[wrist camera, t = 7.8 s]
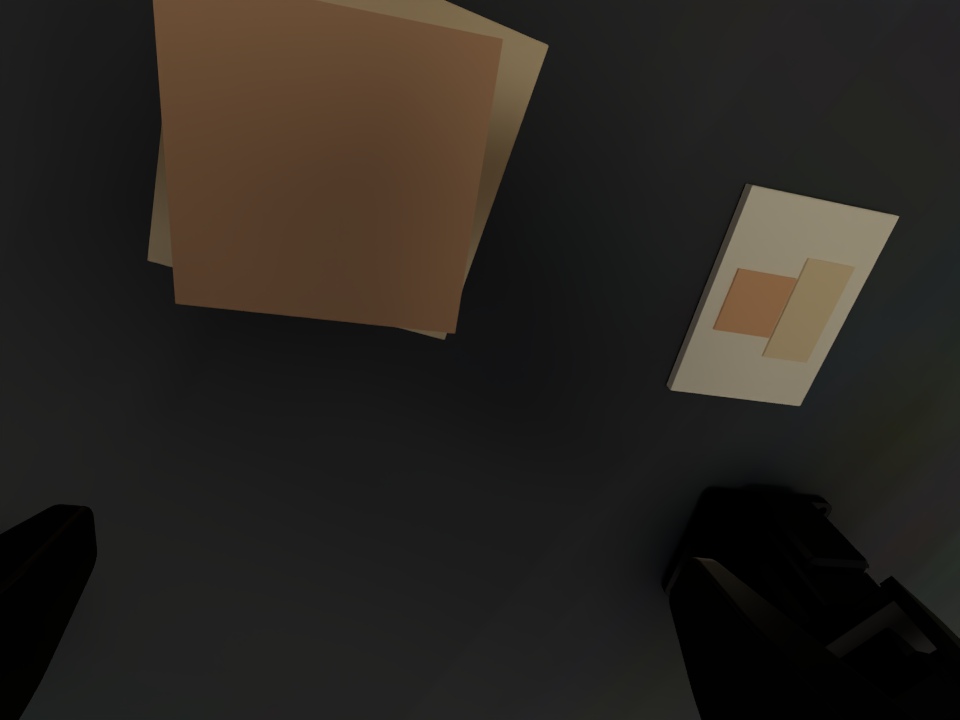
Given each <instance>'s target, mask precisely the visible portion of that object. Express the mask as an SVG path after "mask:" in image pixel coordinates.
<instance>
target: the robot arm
mask: <svg viewBox="0 0 960 720" xmlns="http://www.w3.org/2000/svg"><path fill="white" fill-rule="evenodd" d="M716 499H717V500H716ZM831 510H832V508H831V505H830V504H829V503H828V502H827V501H826V500H825V499H824V498H819V497H808V496H800V495H789V494H777V493H765V492H749V491H738V490H726V489H712V490H710V491H708V492H707V493H706V494H705V495H704V496H703V498H702V500H701V503H700V505H699V507H698V509H697V511H696V513H695V515H694V517H693V519H692V521H691V524H690V526H689V528H688V530H687V532H686V534H685V536H684V538H683V540H682V542H681V545H680V547H679V549H678V551H677V553H676V555H675V557H674V559H673V561H672V563H671V566H670V568H669V570H668V572H667V574H666V576H665V578H664V580H663V582H662V588H663V590H664V592H665V594H666V595H667V596H669V602H670V609H671V613H672V616H673V620H674V624H675V628H676V632H677V636H678V639H679V643H680V647H681V651H682V655H683V658H684V662H685V666H686V670H687V674H688V678H689V681H690V685H691V689H692V692H693V695H694V699H695V702H696V705H697V708H698V711H699V714H700V717H701V720H960V639H959V638H958V637H957V636H956V635H955V634H954V633H953V632H952V631H951V630H950V629H949V628H948V627H947V626H946V625H945V624H944V623H943V622H942V621H941V620H940V619H939V618H938V617H937V616H936V615H935V614H934V613H932V612H931V611H930V610H929V609H928V608H927V607H926V606H925V605H924V604H922V603H921V602H920V601H919V600H918V599H917V598H916V597H915V596H914V595H913V594H911V593H910V592H909V591H908V590H907V589H906V588H905V587H904V586H903V585H901V584H900V583H899V582H898V581H897V580H896V579H895V578H894V577H893V576H890V577H889V578H887V579H886V580H885V581H883V582H882V583H880V585H881V587H879V586H878V585H877V584H876V583H875V581H874V580H873V579H872V578H871V577H870V576H869V575H868V574H867V573H866V571H867V570H868V568H869V565H868V563H867V561H866V559H865V558H864V557H863V556H862V555H861V554H860V553H859V552H858V551H857V550H856V549H855V548H854V546H853V545H852V544H851V543H850V542H849V541H848V540H847V539H846V538H845V537H844V536H843V535H842V534H841V533H840V532H839V531H838V530H837V529H836V528H835V527H834V526H833V525H832V523H831V522H830V521H829V520H828V519H827V517H828V516H829V514H830V512H831ZM96 557H97V545H96V535H95V525H94V516H93V512H92V510H91V509H90V508H89V507H86V506H76V505H64V504H59V505H54V506H52V507H49V508H47V509H46V510H44V511H42V512H40V513H38V514H37V515H35V516H33V517H31V518H29V519H27V520H26V521H24V522H22V523H20V524H18V525H16V526H15V527H13V528H11V529H9V530H7V531H6V532H4V533H2V534H0V720H19V719H20V717H21V715H22V714H23V712H24V710H25V709H26V707H27V705H28V703H29V702H30V700H31V698H32V696H33V695H34V693H35V691H36V689H37V687H38V686H39V684H40V682H41V680H42V678H43V676H44V674H45V672H46V670H47V668H48V666H49V664H50V662H51V659H52V657H53V655H54V653H55V651H56V649H57V646H58V644H59V642H60V640H61V638H62V636H63V633H64V631H65V629H66V627H67V625H68V623H69V620H70V618H71V616H72V614H73V612H74V610H75V607H76V605H77V603H78V601H79V599H80V597H81V594H82V592H83V590H84V588H85V586H86V583H87V581H88V579H89V577H90V575H91V573H92V570H93V568H94V565H95V562H96Z"/></svg>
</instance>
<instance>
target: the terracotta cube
mask: <svg viewBox="0 0 960 720" xmlns="http://www.w3.org/2000/svg"><path fill="white" fill-rule="evenodd" d="M153 8H154V21H155V35H156V48H157V62H158V75H159V89H160V102H161V116H162V129H163V143H164V156H165V170H166V183H167V197H168V210H169V223H170V237H171V250H172V264H173V277H174V291H175V304H183V305H193V306H202V307H211V308H221V309H230V310H239V311H249V312H258V313H268V314H277V315H286V316H296V317H305V318H314V319H324V320H333V321H343V322H352V323H361V324H371V325H380V326H389V327H399V328H408V329H418V330H427V331H436V332H446V333H455V330H456V324H457V318H458V312H459V306H460V300H461V294H462V288H463V282H464V275H465V269H466V263H467V257H468V251H469V245H470V239H471V233H472V226H473V220H474V214H475V208H476V202H477V196H478V190H479V184H480V177H481V171H482V165H483V159H484V153H485V147H486V141H487V135H488V128H489V122H490V116H491V110H492V104H493V98H494V92H495V86H496V79H497V73H498V67H499V61H500V55H501V49H502V43H503V39H501V38H496V37H491V36H486V35H481V34H476V33H472V32H467V31H462V30H457V29H452V28H447V27H443V26H438V25H433V24H428V23H423V22H418V21H414V20H409V19H404V18H399V17H394V16H389V15H385V14H380V13H375V12H370V11H365V10H360V9H356V8H351V7H346V6H341V5H336V4H332V3H327V2H322V1H317V0H153Z"/></svg>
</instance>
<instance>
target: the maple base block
mask: <svg viewBox="0 0 960 720" xmlns="http://www.w3.org/2000/svg"><path fill="white" fill-rule="evenodd" d="M317 1H322V2H327V3H332V4H336V5H341V6H346V7H351V8H356V9H360V10H365V11H370V12H375V13H380V14H385V15H389V16H394V17H399V18H404V19H409V20H414V21H418V22H423V23H428V24H433V25H438V26H443V27H447V28H452V29H457V30H462V31H467V32H472V33H476V34H481V35H486V36H491V37H496V38H501V39H503V43H502V49H501V55H500V61H499V67H498V73H497V79H496V86H495V92H494V98H493V104H492V110H491V116H490V122H489V128H488V135H487V141H486V147H485V153H484V159H483V165H482V171H481V177H480V184H479V190H478V196H477V202H476V208H475V214H474V220H473V226H472V233H471V239H470V245H469V251H468V257H467V263H466V269H465V275H464V282H463V286H464V283H465V281H466V278H467V275H468V272H469V269H470V267H471V264H472V261H473V258H474V255H475V252H476V250H477V247H478V244H479V241H480V238H481V235H482V233H483V230H484V227H485V224H486V221H487V219H488V216H489V213H490V210H491V207H492V204H493V202H494V199H495V196H496V193H497V190H498V187H499V185H500V182H501V179H502V176H503V173H504V171H505V168H506V165H507V162H508V159H509V156H510V154H511V151H512V148H513V145H514V142H515V139H516V137H517V134H518V131H519V128H520V125H521V123H522V120H523V117H524V114H525V111H526V108H527V106H528V103H529V100H530V97H531V94H532V91H533V89H534V86H535V83H536V80H537V77H538V75H539V72H540V69H541V66H542V63H543V60H544V58H545V55H546V52H547V49H548V46H549V45H547V44H544V43H542V42H540V41H537V40H535V39H533V38H530V37H528V36H526V35H523V34H521V33H519V32H516V31H514V30H512V29H510V28H507V27H505V26H503V25H500V24H498V23H496V22H493V21H491V20H489V19H486V18H484V17H482V16H480V15H477V14H475V13H473V12H470V11H468V10H466V9H463V8H461V7H459V6H456V5H454V4H452V3H450V2H447V1H445V0H317ZM147 261H151V262H155V263H159V264H162V265H166V266H170V267H173V264H172V250H171V237H170V223H169V210H168V197H167V183H166V170H165V156H164V143H163V129H162V127H161V137H160V146H159V156H158V165H157V175H156V184H155V194H154V203H153V213H152V222H151V232H150V241H149V251H148V260H147ZM462 289H463V288H462ZM398 328H399V327H398ZM402 329H406V330H409V331H413V332H417V333H421V334H424V335H428V336H432V337H436V338H439V339H443V340H445V337H446V334H447V333H446V332H436V331H427V330H418V329H408V328H402Z"/></svg>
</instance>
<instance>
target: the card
mask: <svg viewBox="0 0 960 720" xmlns="http://www.w3.org/2000/svg"><path fill="white" fill-rule="evenodd" d="M898 218H899V216H896V215H892V214H888V213H883V212H878V211H874V210H869V209H864V208H860V207H855V206H850V205H845V204H841V203H836V202H831V201H827V200H822V199H817V198H813V197H808V196H803V195H798V194H794V193H789V192H784V191H780V190H775V189H770V188H765V187H761V186H756V185H751V184H747V183H746V185H745V187H744V190H743V192H742V195H741V198H740V200H739V203H738V205H737V208H736V210H735V213H734V215H733V218H732V220H731V223H730V225H729V228H728V230H727V233H726V235H725V238H724V240H723V243H722V246H721V248H720V251H719V253H718V256H717V258H716V261H715V263H714V266H713V268H712V271H711V273H710V276H709V278H708V281H707V283H706V286H705V288H704V291H703V294H702V296H701V299H700V301H699V304H698V306H697V309H696V311H695V314H694V316H693V319H692V321H691V324H690V326H689V329H688V331H687V334H686V336H685V339H684V342H683V344H682V347H681V349H680V352H679V354H678V357H677V359H676V362H675V364H674V367H673V369H672V372H671V374H670V377H669V379H668V382H667V387H668V388H669V389H670V390H673V391H681V392H690V393H698V394H706V395H714V396H722V397H730V398H738V399H746V400H754V401H762V402H770V403H779V404H787V405H795V406H800V405H801V403H802V401H803V399H804V397H805V396H806V394H807V392H808V390H809V388H810V386H811V384H812V382H813V380H814V378H815V376H816V375H817V373H818V371H819V369H820V367H821V365H822V363H823V361H824V359H825V357H826V355H827V354H828V352H829V350H830V348H831V346H832V344H833V342H834V340H835V338H836V336H837V334H838V333H839V331H840V329H841V327H842V325H843V323H844V321H845V319H846V317H847V315H848V313H849V312H850V310H851V308H852V306H853V304H854V302H855V300H856V298H857V296H858V294H859V292H860V291H861V289H862V287H863V285H864V283H865V281H866V279H867V277H868V275H869V273H870V271H871V270H872V268H873V266H874V264H875V262H876V260H877V258H878V256H879V254H880V252H881V250H882V249H883V247H884V245H885V243H886V241H887V239H888V237H889V235H890V233H891V231H892V229H893V228H894V226H895V224H896V222H897V220H898Z"/></svg>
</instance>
